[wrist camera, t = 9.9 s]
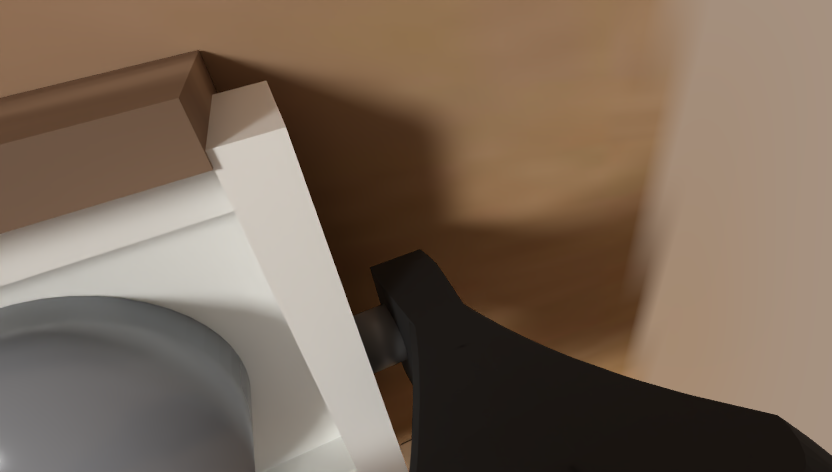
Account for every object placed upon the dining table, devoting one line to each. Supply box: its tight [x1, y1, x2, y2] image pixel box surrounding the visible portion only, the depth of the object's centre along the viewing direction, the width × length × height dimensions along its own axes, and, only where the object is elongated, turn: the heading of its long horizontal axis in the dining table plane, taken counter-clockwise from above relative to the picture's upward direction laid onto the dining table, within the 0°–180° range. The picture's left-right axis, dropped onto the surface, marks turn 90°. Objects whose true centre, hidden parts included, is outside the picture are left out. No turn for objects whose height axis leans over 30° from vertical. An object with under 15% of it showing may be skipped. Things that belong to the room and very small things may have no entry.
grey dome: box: [0, 296, 255, 472], centre depth 8 cm, size 6×6×2 cm
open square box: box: [0, 50, 217, 234], centre depth 8 cm, size 11×9×4 cm
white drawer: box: [0, 81, 408, 472], centre depth 8 cm, size 10×10×3 cm
